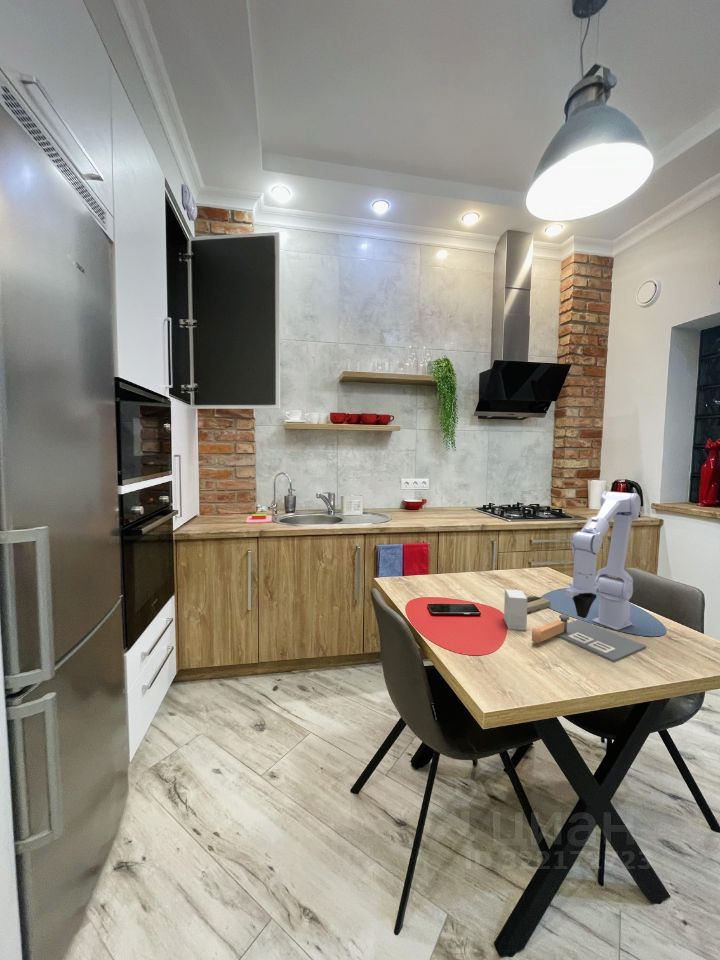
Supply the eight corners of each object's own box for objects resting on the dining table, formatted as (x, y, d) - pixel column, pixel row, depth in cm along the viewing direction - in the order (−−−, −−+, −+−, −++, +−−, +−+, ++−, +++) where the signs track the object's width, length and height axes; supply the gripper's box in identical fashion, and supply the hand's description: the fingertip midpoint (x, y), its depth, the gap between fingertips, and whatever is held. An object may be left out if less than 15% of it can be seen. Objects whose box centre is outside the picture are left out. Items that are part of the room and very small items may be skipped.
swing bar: (564, 631, 117) (565, 621, 117) (537, 643, 109) (538, 632, 109) (557, 628, 119) (557, 619, 119) (529, 640, 111) (530, 629, 111)
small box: (526, 631, 120) (527, 598, 119) (507, 629, 121) (509, 597, 120) (521, 620, 128) (522, 590, 127) (503, 618, 129) (504, 588, 128)
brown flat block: (530, 600, 146) (531, 592, 146) (550, 608, 140) (550, 599, 139) (503, 608, 138) (504, 600, 138) (523, 617, 131) (523, 608, 131)
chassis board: (578, 621, 128) (579, 605, 127) (646, 647, 110) (647, 630, 110) (546, 631, 120) (547, 615, 119) (613, 662, 102) (615, 643, 102)
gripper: (585, 565, 120) (583, 607, 121) (556, 571, 113) (554, 616, 114) (608, 571, 114) (606, 615, 114) (579, 578, 107) (577, 625, 107)
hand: (582, 616), depth 114 cm, fingers closed
